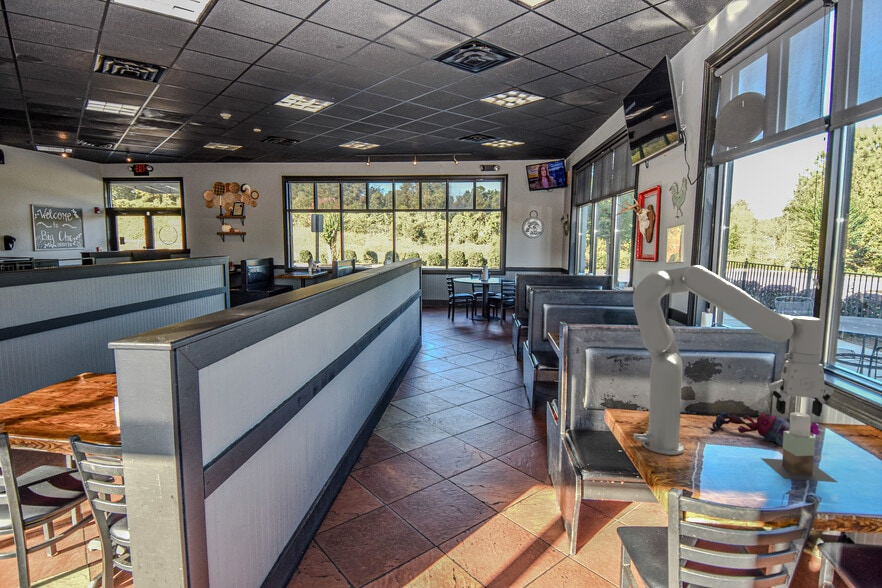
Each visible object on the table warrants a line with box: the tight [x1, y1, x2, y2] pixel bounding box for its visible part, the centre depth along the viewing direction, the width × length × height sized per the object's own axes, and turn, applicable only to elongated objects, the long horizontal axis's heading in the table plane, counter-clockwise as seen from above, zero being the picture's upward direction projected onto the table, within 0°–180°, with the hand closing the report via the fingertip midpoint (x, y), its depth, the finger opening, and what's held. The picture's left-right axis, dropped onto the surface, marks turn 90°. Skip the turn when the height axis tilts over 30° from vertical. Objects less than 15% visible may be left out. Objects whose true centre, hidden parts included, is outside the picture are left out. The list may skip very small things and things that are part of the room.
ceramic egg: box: [789, 411, 812, 438], centre depth 144 cm, size 5×5×6 cm
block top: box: [782, 431, 816, 457], centre depth 145 cm, size 6×6×6 cm
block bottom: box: [782, 448, 815, 474], centre depth 145 cm, size 6×6×6 cm
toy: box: [709, 411, 820, 448], centre depth 170 cm, size 16×9×30 cm
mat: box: [760, 457, 838, 483], centre depth 145 cm, size 14×14×1 cm
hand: (798, 413), depth 144 cm, fingers open, 9 cm apart
